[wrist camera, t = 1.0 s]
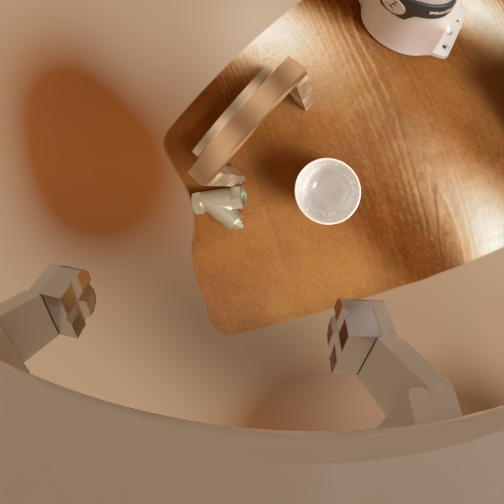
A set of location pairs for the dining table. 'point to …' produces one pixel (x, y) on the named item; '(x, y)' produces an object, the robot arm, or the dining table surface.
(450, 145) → the dining table surface
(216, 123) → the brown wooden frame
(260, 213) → the dining table surface
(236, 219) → the pipe fitting
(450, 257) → the dining table surface
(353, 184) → the white cup
